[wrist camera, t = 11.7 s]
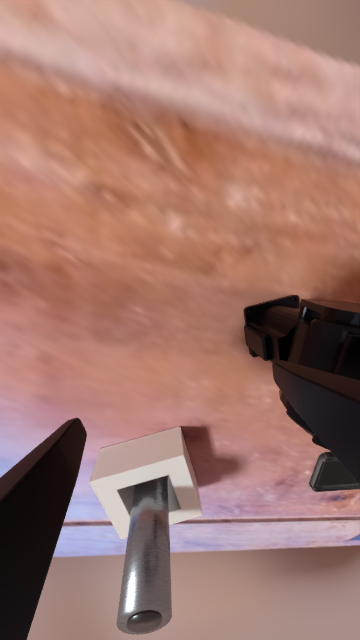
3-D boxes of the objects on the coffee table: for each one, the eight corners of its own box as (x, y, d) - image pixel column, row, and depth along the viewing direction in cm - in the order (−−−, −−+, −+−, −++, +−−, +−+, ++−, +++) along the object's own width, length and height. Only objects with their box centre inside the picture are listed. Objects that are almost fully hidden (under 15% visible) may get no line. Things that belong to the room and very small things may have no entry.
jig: (180, 426, 25) (183, 454, 21) (196, 481, 28) (202, 515, 24) (100, 448, 24) (89, 481, 20) (126, 501, 27) (120, 539, 24)
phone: (324, 456, 28) (404, 453, 30) (318, 450, 29) (396, 447, 31) (310, 492, 30) (387, 487, 32) (305, 484, 31) (379, 480, 33)
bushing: (166, 452, 26) (170, 603, 14) (168, 474, 27) (173, 631, 15) (135, 456, 25) (112, 614, 14) (138, 478, 26) (120, 642, 15)
